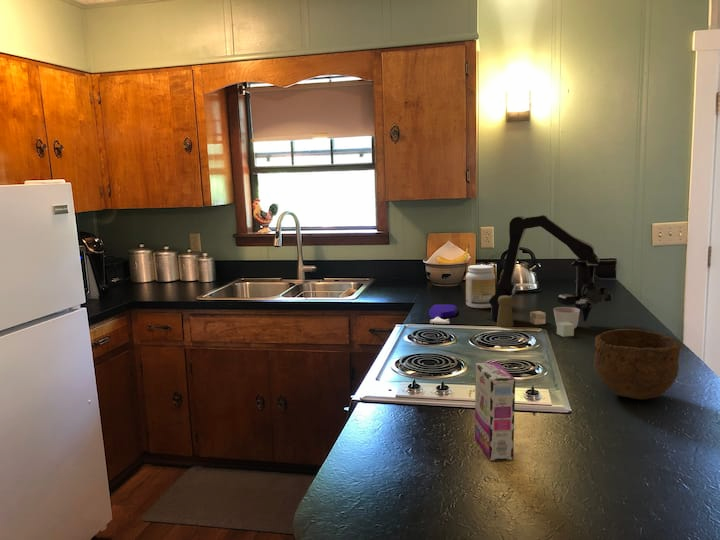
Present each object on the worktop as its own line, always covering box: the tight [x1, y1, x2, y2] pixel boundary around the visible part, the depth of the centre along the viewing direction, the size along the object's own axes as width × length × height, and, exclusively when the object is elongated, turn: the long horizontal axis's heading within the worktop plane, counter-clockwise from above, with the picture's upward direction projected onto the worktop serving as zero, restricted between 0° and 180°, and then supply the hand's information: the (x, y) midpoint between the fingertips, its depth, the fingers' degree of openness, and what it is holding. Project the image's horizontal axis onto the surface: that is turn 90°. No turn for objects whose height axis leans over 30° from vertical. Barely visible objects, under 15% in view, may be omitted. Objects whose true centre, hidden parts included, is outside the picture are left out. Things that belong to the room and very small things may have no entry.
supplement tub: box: [465, 264, 496, 309], centre depth 251 cm, size 12×12×17 cm
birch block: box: [529, 310, 546, 326], centre depth 220 cm, size 4×4×4 cm
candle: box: [553, 306, 580, 329], centre depth 212 cm, size 9×9×6 cm
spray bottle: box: [428, 303, 458, 325], centre depth 233 cm, size 3×11×24 cm
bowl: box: [593, 328, 682, 401], centre depth 144 cm, size 19×19×15 cm
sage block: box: [556, 322, 575, 337], centre depth 203 cm, size 4×4×4 cm
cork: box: [496, 295, 514, 328], centre depth 217 cm, size 6×6×11 cm
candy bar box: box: [474, 361, 516, 462], centre depth 118 cm, size 11×5×16 cm, turn 5°
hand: (584, 321), depth 214 cm, fingers closed
